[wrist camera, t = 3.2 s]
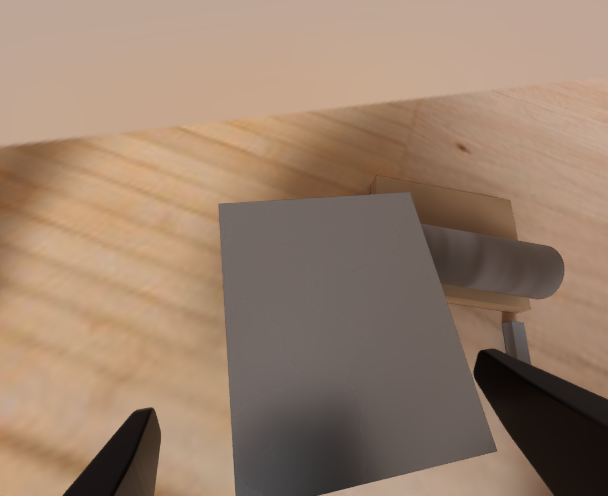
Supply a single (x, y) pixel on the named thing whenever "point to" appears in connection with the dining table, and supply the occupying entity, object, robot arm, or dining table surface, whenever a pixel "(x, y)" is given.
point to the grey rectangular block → (340, 347)
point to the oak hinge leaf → (481, 253)
